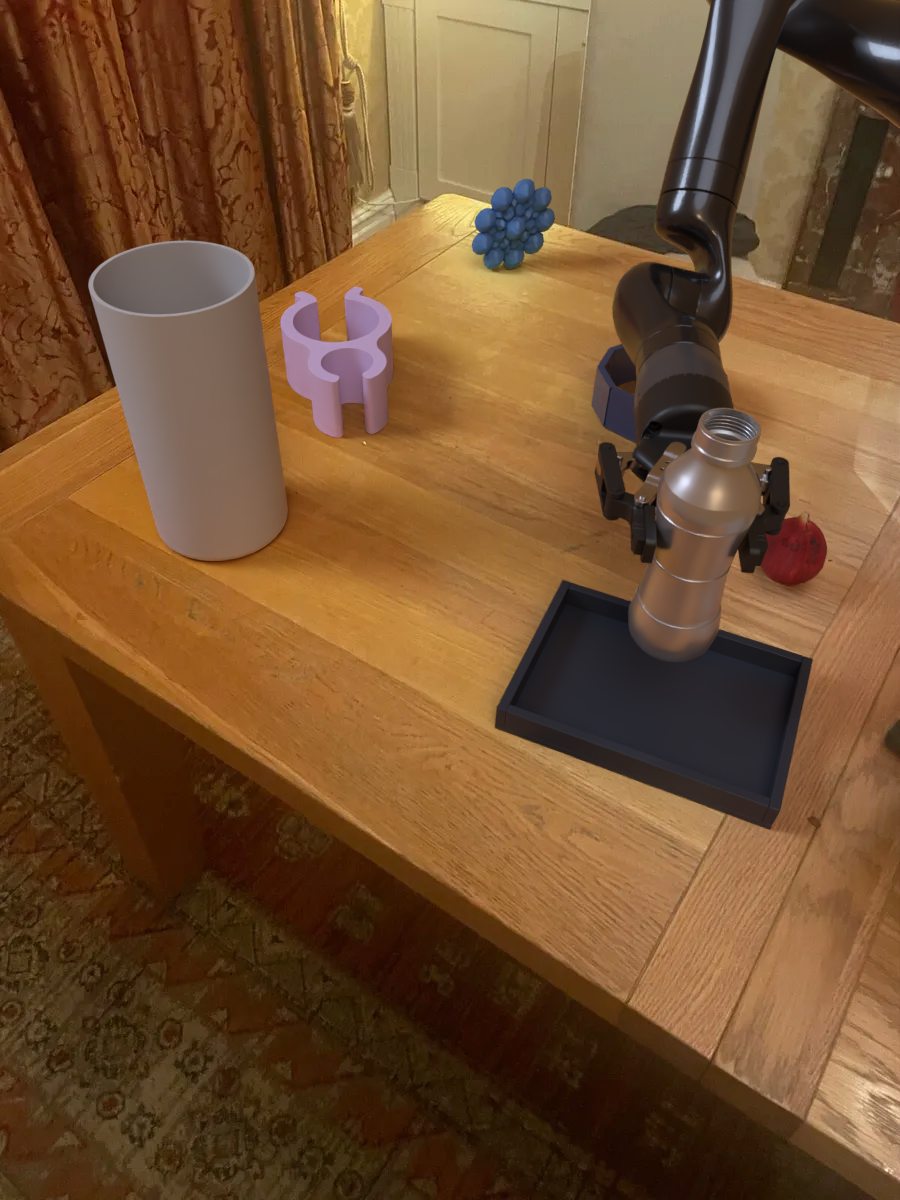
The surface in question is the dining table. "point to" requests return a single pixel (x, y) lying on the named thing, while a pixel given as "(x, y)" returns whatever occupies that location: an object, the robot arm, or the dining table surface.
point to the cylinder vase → (195, 393)
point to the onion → (795, 551)
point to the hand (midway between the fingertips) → (700, 558)
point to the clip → (340, 360)
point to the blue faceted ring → (615, 393)
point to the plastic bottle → (697, 537)
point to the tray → (660, 706)
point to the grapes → (513, 224)
